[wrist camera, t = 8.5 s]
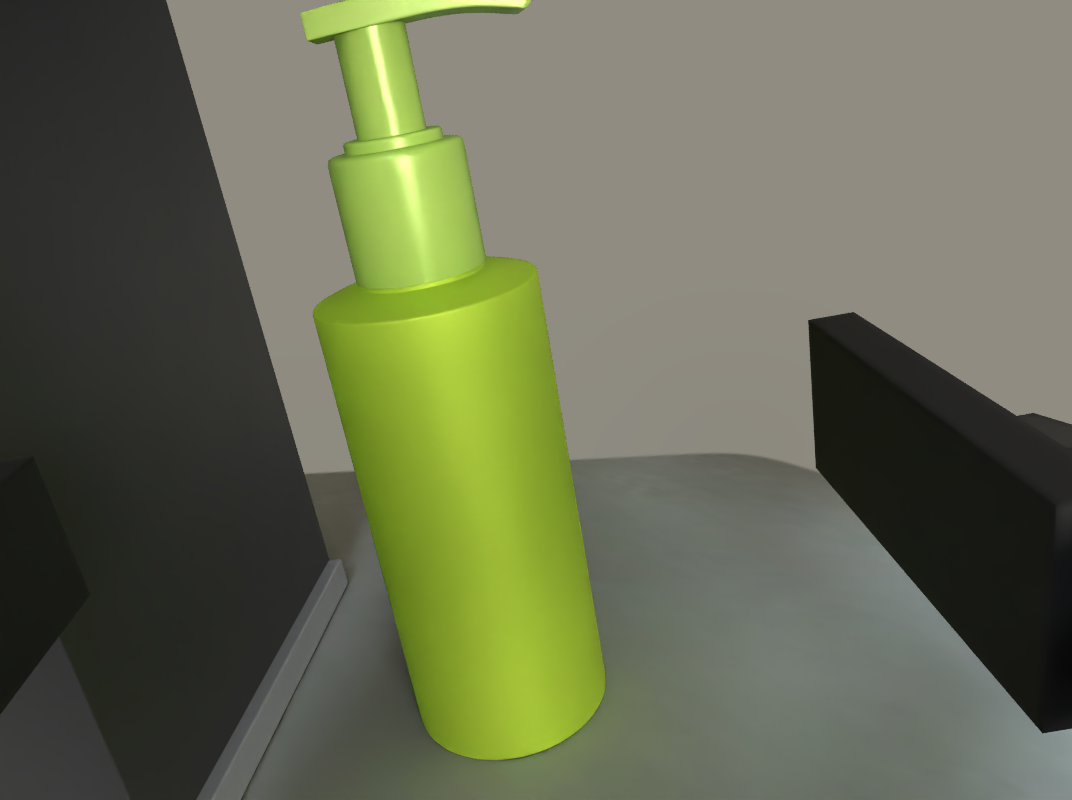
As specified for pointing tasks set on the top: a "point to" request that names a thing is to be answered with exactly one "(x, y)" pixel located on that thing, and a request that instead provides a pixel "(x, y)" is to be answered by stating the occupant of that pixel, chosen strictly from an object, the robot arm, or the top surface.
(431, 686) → the soap dispenser
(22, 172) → the coffee maker
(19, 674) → the robot arm
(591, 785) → the top surface
